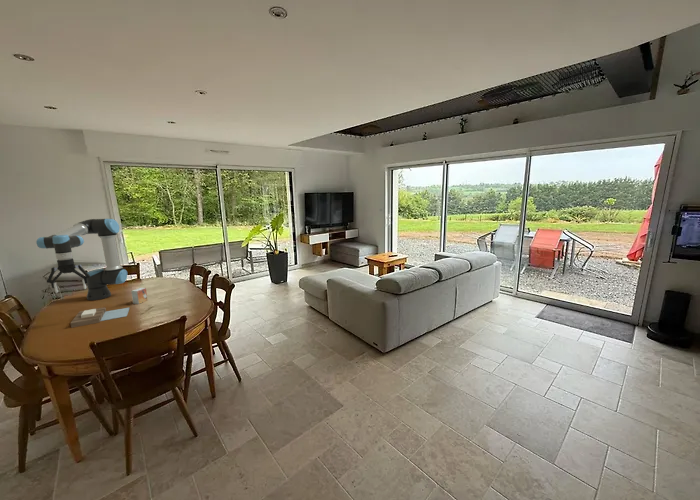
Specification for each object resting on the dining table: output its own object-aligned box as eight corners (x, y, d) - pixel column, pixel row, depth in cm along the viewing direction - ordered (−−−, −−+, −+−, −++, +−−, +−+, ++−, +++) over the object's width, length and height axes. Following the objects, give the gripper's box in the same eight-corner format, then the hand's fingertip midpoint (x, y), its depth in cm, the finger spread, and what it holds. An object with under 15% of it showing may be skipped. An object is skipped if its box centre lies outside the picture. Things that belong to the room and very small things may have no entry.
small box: (138, 304, 219) (136, 291, 217) (133, 303, 220) (130, 290, 218) (148, 300, 227) (146, 287, 225) (142, 299, 228) (140, 287, 226)
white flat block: (84, 313, 195) (84, 310, 195) (96, 311, 198) (95, 308, 198) (81, 318, 188) (80, 315, 187) (93, 316, 191) (92, 313, 190)
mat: (105, 311, 205) (105, 311, 205) (129, 307, 212) (129, 307, 212) (100, 321, 190) (100, 320, 190) (126, 316, 197) (126, 315, 197)
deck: (80, 315, 199) (79, 311, 198) (106, 311, 206) (105, 307, 206) (71, 327, 181) (70, 323, 180) (99, 322, 188) (99, 318, 187)
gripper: (35, 262, 172) (42, 295, 176) (89, 257, 186) (95, 288, 190) (39, 260, 178) (46, 292, 182) (91, 255, 192) (97, 285, 196)
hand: (71, 290), depth 186 cm, fingers open, 13 cm apart
